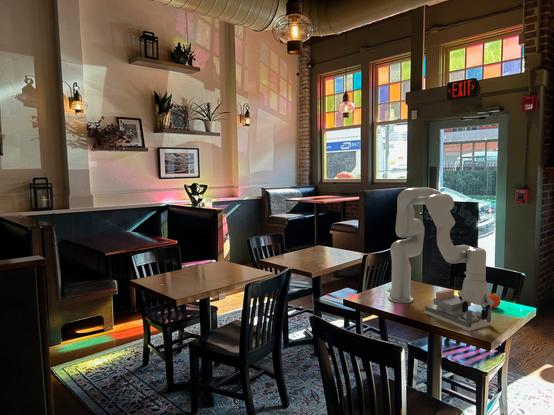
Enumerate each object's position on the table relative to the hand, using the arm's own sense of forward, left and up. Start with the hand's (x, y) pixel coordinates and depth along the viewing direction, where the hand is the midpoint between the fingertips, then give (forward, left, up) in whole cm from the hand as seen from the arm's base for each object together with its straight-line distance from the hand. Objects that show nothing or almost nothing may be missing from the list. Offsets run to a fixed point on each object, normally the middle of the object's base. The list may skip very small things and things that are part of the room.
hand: (474, 315), depth 180 cm
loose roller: (-1, 0, -3) cm, 3 cm away
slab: (-12, 0, +1) cm, 12 cm away
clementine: (-11, +29, -5) cm, 32 cm away
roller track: (-9, 0, -5) cm, 10 cm away
